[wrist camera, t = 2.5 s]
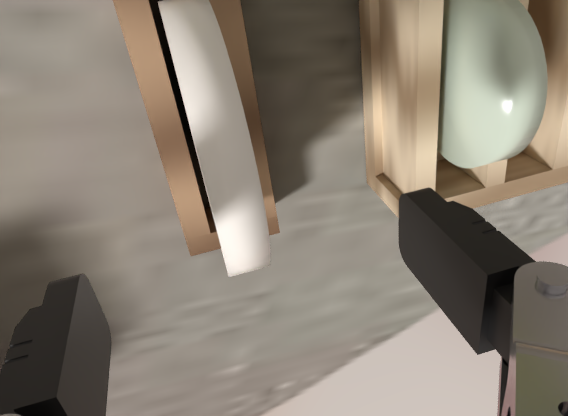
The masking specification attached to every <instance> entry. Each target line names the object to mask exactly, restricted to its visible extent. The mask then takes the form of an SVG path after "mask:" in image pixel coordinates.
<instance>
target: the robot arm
mask: <svg viewBox="0 0 568 416" xmlns="http://www.w3.org/2000/svg"><path fill="white" fill-rule="evenodd" d="M399 248H400V252H401V255H402V258H403V260H404V262H405V264H406V265H407V267H408V268H409V269H410V270H411V272H412V273H413V274H414V275H415V277H416V278H417V279H418V280H419V282H420V283H421V284H422V285H423V287H424V288H425V289H426V290H427V292H428V293H429V294H430V296H431V297H432V298H433V299H434V301H435V302H436V303H437V304H438V306H439V307H440V308H441V309H442V311H443V312H444V313H445V314H446V316H447V317H448V318H449V319H450V321H451V322H452V323H453V324H454V326H455V327H456V328H457V329H458V331H459V332H460V333H461V335H462V336H463V337H464V338H465V340H466V341H467V342H468V343H469V345H470V346H471V347H472V348H473V350H474V351H475V352H476V353H477V355H478V354H482V353H485V352H488V351H491V350H494V349H496V350H497V352H498V353H499V354H500V355H501V362H500V373H499V393H498V413H497V416H568V267H567V266H565V265H562V264H558V263H553V262H536V261H534V260H533V259H532V258H531V257H530V256H528V255H527V254H526V253H525V252H524V251H522V250H521V249H520V248H519V247H518V246H516V245H515V244H514V243H513V242H512V241H510V240H509V239H508V238H507V237H506V236H504V235H503V234H502V233H501V232H500V231H496V228H495V227H494V226H492V225H491V224H490V223H489V222H486V221H485V219H484V218H483V217H482V216H480V215H479V214H478V213H477V212H476V211H474V210H473V209H472V208H470V207H467V206H465V205H462V204H460V203H458V202H455V201H449V202H447V201H446V200H444V199H443V198H442V197H441V196H440V195H439V194H438V193H437V192H435V191H434V190H433V189H432V188H429V187H428V188H424V189H420V190H416V191H412V192H408V193H404V194H401V196H400V198H399ZM110 355H111V335H110V330H109V326H108V323H107V320H106V318H105V315H104V313H103V311H102V309H101V306H100V304H99V302H98V300H97V298H96V295H95V293H94V291H93V289H92V287H91V284H90V282H89V280H88V278H87V277H86V276H85V275H84V274H79V275H75V276H72V277H68V278H64V279H60V280H56V281H52V282H50V283H49V284H48V286H47V290H46V294H45V297H44V301H43V304H42V306H40V307H36V308H32V309H30V310H29V311H28V312H27V314H26V315H25V316H24V317H23V319H22V320H21V321H20V322H19V324H18V325H17V326H16V327H15V330H14V333H13V336H12V340H11V343H10V349H8V352H7V355H6V358H5V365H3V367H2V370H1V373H0V416H106V404H107V391H108V379H109V367H110Z"/></svg>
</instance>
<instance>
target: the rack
mask: <svg viewBox="0 0 568 416" xmlns="http://www.w3.org/2000/svg"><path fill="white" fill-rule="evenodd" d="M519 1H520V2H521V3H522V5H523V6H524V7H525V8H526V10H527V11H528V13H529V14H530V15H531V17H532V19H533V21H534V23H535V25H536V27H537V30H538V32H539V35H540V37H541V41H542V44H543V48H544V52H545V58H546V64H547V77H548V82H547V98H546V105H545V110H544V114H543V117H542V120H541V123H540V126H539V128H538V130H537V132H536V134H535V136H534V138H533V139H532V141H531V142H530V144H529V145H528V146H527V147H526V148H525V149H524V150H523V151H522V152H520V153H519V154H518V155H516V156H514V157H512V158H509V159H505V160H502V161H498V162H494V163H490V164H486V165H482V166H479V167H475V168H462V167H459V166H456V165H454V164H452V163H451V162H449V161H448V160H447V159H446V158H444V157H443V156H442V155H441V154H440V152H439V151H438V150H437V140H438V117H439V95H440V73H441V50H442V28H443V6H444V0H359V19H360V41H361V63H362V85H363V108H364V130H365V152H366V174H367V183H368V185H369V186H370V187H371V188H372V189H373V190H374V191H375V192H376V193H377V195H378V196H379V197H380V198H381V199H382V200H383V201H384V202H385V203H386V205H387V206H388V207H389V208H390V209H391V210H392V211H393V212H394V213H395V215H396V216H397V217H398V218H399V198H400V196H401V194H404V193H408V192H412V191H416V190H420V189H424V188H428V187H429V188H432V189H433V190H434V191H435V192H437V193H438V194H439V195H440V196H441V197H442V198H443V199H444V200H446V201H447V202H449V201H455V202H458V203H460V204H462V205H465V206H467V207H470V208H476V207H480V206H483V205H487V204H490V203H494V202H498V201H501V200H505V199H509V198H512V197H516V196H520V195H523V194H527V193H530V192H534V191H538V190H541V189H545V188H549V187H552V186H556V185H559V184H563V183H567V182H568V0H519Z"/></svg>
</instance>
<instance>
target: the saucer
mask: <svg viewBox="0 0 568 416" xmlns="http://www.w3.org/2000/svg"><path fill="white" fill-rule="evenodd" d="M547 82H548V77H547V64H546V58H545V52H544V48H543V44H542V41H541V37H540V35H539V32H538V30H537V27H536V25H535V23H534V21H533V19H532V17H531V15H530V14H529V13H528V11H527V10H526V8H525V7H524V6H523V5H522V3H521V2H520V1H519V0H444V6H443V28H442V50H441V73H440V95H439V117H438V140H437V150H438V151H439V152H440V154H441V155H442V156H443V157H444V158H446V159H447V160H448V161H449V162H451V163H452V164H454V165H456V166H459V167H462V168H475V167H479V166H482V165H486V164H490V163H494V162H498V161H502V160H505V159H509V158H512V157H514V156H516V155H518V154H519V153H520V152H522V151H523V150H524V149H525V148H526V147H527V146H528V145H529V144H530V142H531V141H532V139H533V138H534V136H535V134H536V132H537V130H538V128H539V126H540V123H541V120H542V117H543V114H544V110H545V105H546V98H547Z"/></svg>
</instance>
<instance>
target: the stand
mask: <svg viewBox="0 0 568 416" xmlns="http://www.w3.org/2000/svg"><path fill="white" fill-rule="evenodd" d="M113 2H114V6H115V9H116V12H117V16H118V19H119V22H120V25H121V29H122V32H123V35H124V39H125V42H126V45H127V48H128V52H129V55H130V58H131V62H132V65H133V68H134V71H135V75H136V78H137V81H138V85H139V88H140V91H141V94H142V98H143V101H144V104H145V108H146V111H147V114H148V117H149V121H150V124H151V127H152V131H153V134H154V137H155V140H156V144H157V147H158V150H159V154H160V157H161V160H162V163H163V167H164V170H165V173H166V177H167V180H168V183H169V186H170V190H171V193H172V196H173V200H174V203H175V206H176V209H177V213H178V216H179V219H180V223H181V226H182V229H183V232H184V236H185V239H186V242H187V246H188V249H189V252H190V255H191V256H194V255H197V254H201V253H205V252H209V251H213V250H216V249H220V248H221V246H220V242H219V238H218V234H217V230H216V226H215V223H214V219H213V215H212V211H211V207H210V206H209V207H205V208H204V204H203V200H202V196H201V193H200V189H199V185H198V181H197V178H196V174H195V170H194V166H193V162H192V159H191V155H190V151H189V147H188V144H187V140H186V136H185V132H184V129H183V125H182V121H181V117H180V114H179V110H178V106H177V102H176V99H175V95H174V91H173V87H172V83H171V80H170V76H169V72H168V68H167V65H166V61H165V57H164V53H163V50H162V46H161V42H160V38H159V35H158V31H157V27H156V23H155V20H154V16H153V12H152V8H151V4H150V1H149V0H113ZM209 2H210V4H211V6H212V9H213V11H214V13H215V16H216V19H217V22H218V24H219V27H220V30H221V33H222V36H223V39H224V42H225V45H226V49H227V52H228V55H229V59H230V62H231V65H232V69H233V72H234V76H235V80H236V83H237V87H238V91H239V94H240V98H241V102H242V106H243V110H244V114H245V118H246V122H247V126H248V130H249V134H250V138H251V143H252V147H253V151H254V156H255V161H256V165H257V170H258V175H259V179H260V184H261V190H262V195H263V200H264V206H265V211H266V217H267V224H268V230H269V235H273V234H277V233H280V231H279V225H278V220H277V214H276V208H275V202H274V196H273V190H272V184H271V178H270V172H269V167H268V161H267V155H266V149H265V143H264V137H263V131H262V125H261V119H260V114H259V108H258V102H257V96H256V90H255V84H254V78H253V72H252V67H251V61H250V55H249V49H248V43H247V37H246V31H245V25H244V19H243V14H242V8H241V2H240V0H209Z"/></svg>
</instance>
